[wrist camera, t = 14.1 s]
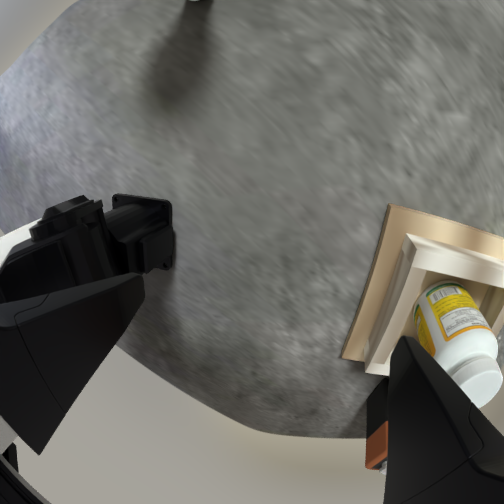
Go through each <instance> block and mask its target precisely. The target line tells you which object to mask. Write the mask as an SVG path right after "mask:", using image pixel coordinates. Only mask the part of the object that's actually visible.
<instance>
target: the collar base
mask: <svg viewBox="0 0 504 504" xmlns="http://www.w3.org/2000/svg"><path fill="white" fill-rule="evenodd" d="M444 280H452V281H456V282H458V283H460V284H461V285H463V286H464V287H465V289H466V290H467V291H468V293H469V294H470V296H471V298H472V299H473V301H474V302H475V304H476V305H477V307H478V309H479V310H480V312H481V314H482V315H483V317H484V318H485V320H486V322H487V323H488V325H489V327H490V328H491V330H492V332H493V334H494V336H495V338H496V337H497V335H498V333H499V331H500V330H501V328H502V326H503V324H504V238H503V237H500V236H497V235H494V234H491V233H488V232H486V231H483V230H480V229H477V228H474V227H471V226H467V225H464V224H461V223H458V222H455V221H451V220H448V219H445V218H441V217H438V216H435V215H431V214H428V213H424V212H420V211H417V210H413V209H409V208H405V207H401V206H398V205H394V204H390V203H388V207H387V212H386V216H385V220H384V224H383V228H382V232H381V236H380V240H379V243H378V247H377V250H376V254H375V257H374V261H373V264H372V267H371V271H370V274H369V277H368V280H367V283H366V287H365V290H364V293H363V296H362V299H361V301H360V304H359V307H358V310H357V313H356V316H355V318H354V321H353V324H352V326H351V329H350V332H349V334H348V337H347V339H346V342H345V344H344V347H343V349H342V358H344V359H350V360H356V361H362V362H365V373H371V374H379V375H386V376H389V373H390V358H391V354H392V352H393V350H394V348H395V346H396V344H397V342H398V340H399V338H400V337H401V336H403V335H406V336H412V337H414V338H415V339H416V340H417V341H418V342H419V343H420V341H419V338H418V334H417V330H416V327H415V324H414V320H413V312H414V307H415V304H416V302H417V300H418V298H419V297H420V295H421V294H422V293H423V292H424V291H425V290H426V289H427V288H428V287H430V286H431V285H433V284H435V283H437V282H440V281H444Z"/></svg>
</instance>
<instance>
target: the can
mask: <svg viewBox="0 0 504 504" xmlns="http://www.w3.org/2000/svg"><path fill="white" fill-rule="evenodd" d="M41 219H42V218H41ZM41 219H38V220H36V221H34V222H31V223H29V224H27V225H25V226H23V227H20V228H18V229H16V230H14V231H12V232H10V233H8V234H6V235H4V236H2V237H0V266H1V264H2V262H3V261H4V259H5V258H6V256H7V254H8V253H9V251H10V250H11V248H12V247H13V246H15V245H16V244H18V243H21V242H23V241H25V240H27V239H29V238H31V235H30V232H29V228H31V227H32V226H34V225H36V224H37V221H39V220H41Z"/></svg>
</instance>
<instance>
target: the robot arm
mask: <svg viewBox="0 0 504 504" xmlns="http://www.w3.org/2000/svg"><path fill="white" fill-rule="evenodd" d="M117 198H118V200H117ZM164 204H165V205H166V207H167V208H165V207H164ZM112 206H113V210H111V211H108V212H106V213H103V209H102V207H103V203H102V200H98V201H94V200H88V199H87V198H86V197H85V196H84V195H82V196H79V197H76V198H73V199H70V200H68V201H65V202H62V203H60V204H57V205H55V206H53V207H50V208H48V209H46V210H45V213H44V215H43V217H42V219H41V220H39V221H37V224H36V225H34V226H32V227H31V228H29V232H30V235H31V238H29V239H27V240H25V241H23V242H21V243H18V244H16V245H15V246H13V247H12V248H11V250H10V251H9V253H8V254H7V256H6V258H5V259H4V261H3V262H2V264H1V266H0V504H51V503H50V502H49V501H47V500H46V499H45V498H44V497H43V496H42V495H41V494H39V493H38V492H37V491H36V490H35V489H34V488H33V487H32V486H30V484H29V483H28V482H27V481H25V479H24V478H23V477H22V476H21V475H20V474H19V473H18V462H17V450H16V445H15V444H14V443H13V441H14V440H15V439H16V437H17V436H19V437H20V438H21V439H22V440H23V441H24V442H25V443H26V444H27V445H28V446H29V447H30V448H31V449H32V450H33V451H34V452H36V453H37V454H38V455H40V454H41V453H42V451H43V449H44V448H45V446H46V445H47V443H48V442H49V440H50V438H51V437H52V435H53V434H54V432H55V430H56V429H57V427H58V426H59V424H60V423H61V421H62V420H63V418H64V417H65V415H66V413H67V412H68V410H69V409H70V407H71V406H72V404H73V403H74V401H75V400H76V398H77V397H78V395H79V394H80V393H81V391H82V390H83V388H84V387H85V385H86V384H87V383H88V381H89V379H90V378H91V377H92V375H93V374H94V373H95V371H96V370H97V369H98V367H99V366H100V364H101V363H102V361H103V360H104V359H105V357H106V356H107V355H108V353H109V352H110V351H111V349H112V348H113V347H114V345H115V344H116V343H117V341H118V340H119V339H120V337H121V336H122V335H123V333H124V332H125V330H126V329H127V327H128V325H129V324H130V322H131V320H132V319H133V317H134V316H135V314H136V312H137V311H138V309H139V307H140V306H141V304H142V303H143V301H144V298H145V290H144V281H143V277H142V276H141V275H142V274H144V273H145V274H147V273H149V272H150V271H151V270H152V269H154V268H159V269H163V270H169V269H170V268H171V267H172V253H173V228H172V225H171V203H170V202H169V201H168V200H163V199H156V198H149V197H142V196H134V195H127V194H119V193H118V194H115V195H113V197H112ZM165 263H166V264H167V266H166V264H165ZM383 504H504V436H503V435H502V434H501V433H500V432H499V431H498V430H497V429H496V428H495V427H494V426H493V425H492V424H491V422H490V421H489V420H488V419H487V418H486V417H485V416H484V415H483V414H482V413H481V411H480V410H479V409H478V408H477V407H476V405H475V404H474V403H473V402H471V400H470V398H469V397H468V396H467V395H466V394H465V393H464V391H463V390H462V389H461V388H460V387H459V386H458V385H457V384H456V382H455V381H454V380H453V379H452V378H451V377H450V376H449V375H448V373H447V372H446V371H445V370H444V369H443V368H442V367H441V366H440V365H439V364H438V362H437V361H436V360H435V359H434V358H433V357H432V356H431V355H430V354H429V353H428V352H427V351H426V350H425V349H424V348H423V346H422V345H421V344H420V343H419V342H418V341H417V340H416V339H415V338H414V337H412V336H406V335H403V336H401V337H400V338H399V340H398V342H397V344H396V346H395V348H394V350H393V352H392V354H391V358H390V373H389V388H388V450H387V469H386V482H385V493H384V502H383Z"/></svg>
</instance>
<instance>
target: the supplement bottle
mask: <svg viewBox="0 0 504 504" xmlns="http://www.w3.org/2000/svg"><path fill="white" fill-rule="evenodd" d="M413 320H414V324H415V327H416V330H417V334H418V338H419V341H420V344H421V345H422V346H423V348H424V349H425V350H426V351H427V352H428V353H429V354H430V355H431V356H432V357H433V358H434V359H435V360H436V361H437V362H438V364H439V365H440V366H441V367H442V368H443V369H444V370H445V371H446V372H447V373H448V375H449V376H450V377H451V378H452V379H453V380H454V381H455V382H456V384H457V385H458V386H459V387H460V388H461V389H462V390H463V391H464V393H465V394H466V395H467V396H468V397H469V398H470V400H471V402H473V403H474V404H475V405H476V407H477V408H480V407H482V406H483V405H485V404H486V403H487V402H489V401H490V400H491V399H492V398H493V397H494V396H495V394H496V393H497V392H498V391H499V389H500V387H501V385H502V381H503V377H502V374H501V371H500V368H499V366H498V364H497V362H496V357H497V353H498V344H497V340H496V338H495V336H494V334H493V332H492V330H491V328H490V327H489V325H488V323H487V322H486V320H485V318H484V317H483V315H482V314H481V312H480V310H479V309H478V307H477V305H476V304H475V302H474V301H473V299H472V298H471V296H470V294H469V293H468V291H467V290H466V289H465V287H464V286H463V285H461V284H460V283H458V282H456V281H452V280H444V281H440V282H437V283H435V284H433V285H431V286H430V287H428V288H427V289H426V290H425V291H424V292H423V293H422V294H421V295H420V297H419V298H418V300H417V302H416V304H415V307H414V312H413Z"/></svg>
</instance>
